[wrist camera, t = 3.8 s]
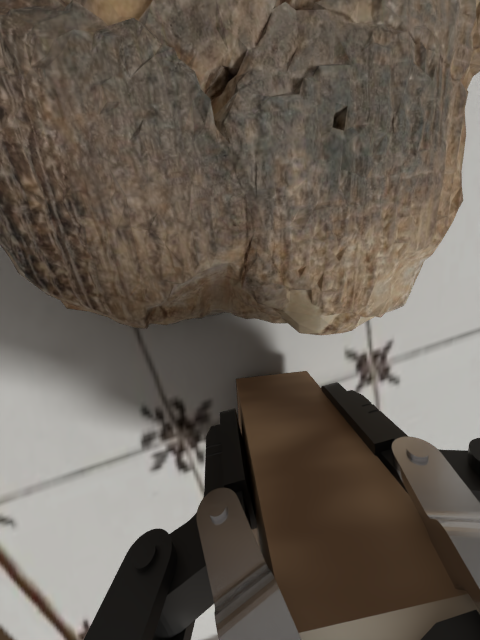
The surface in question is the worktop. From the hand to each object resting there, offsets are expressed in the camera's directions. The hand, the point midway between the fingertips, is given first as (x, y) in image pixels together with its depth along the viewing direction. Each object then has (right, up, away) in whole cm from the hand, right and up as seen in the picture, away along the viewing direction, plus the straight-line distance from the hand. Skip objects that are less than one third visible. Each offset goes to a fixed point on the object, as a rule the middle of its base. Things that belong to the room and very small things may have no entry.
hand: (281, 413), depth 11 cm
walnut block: (0, -1, +2) cm, 3 cm away
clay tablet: (-3, +11, 0) cm, 11 cm away
